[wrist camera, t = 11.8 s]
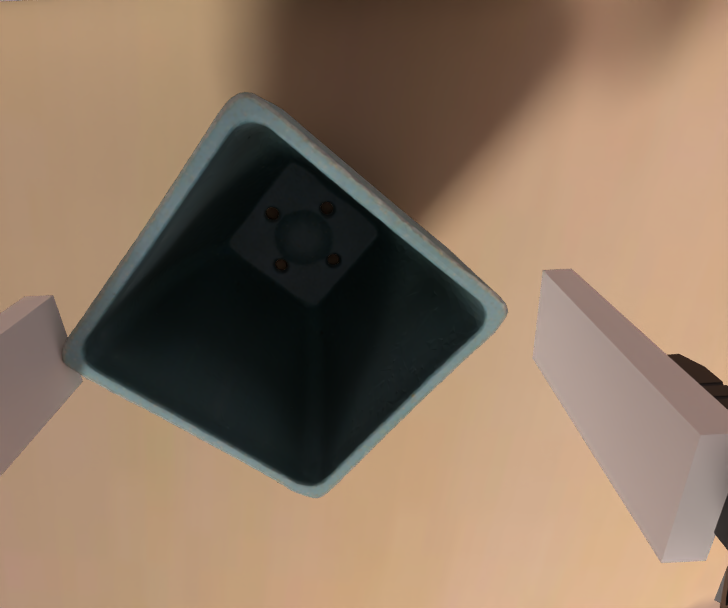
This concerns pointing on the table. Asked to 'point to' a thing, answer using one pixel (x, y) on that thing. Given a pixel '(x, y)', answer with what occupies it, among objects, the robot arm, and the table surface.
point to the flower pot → (281, 305)
